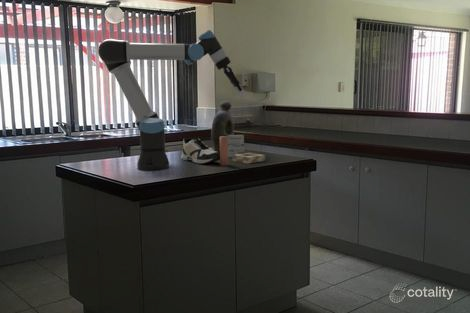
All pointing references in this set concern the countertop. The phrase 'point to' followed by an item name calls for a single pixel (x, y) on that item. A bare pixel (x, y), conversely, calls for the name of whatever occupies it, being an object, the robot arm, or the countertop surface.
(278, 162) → the countertop surface
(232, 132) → the sculpture
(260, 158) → the socket
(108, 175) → the countertop surface
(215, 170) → the countertop surface
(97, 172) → the countertop surface
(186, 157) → the running shoe
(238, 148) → the ink box
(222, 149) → the peg
